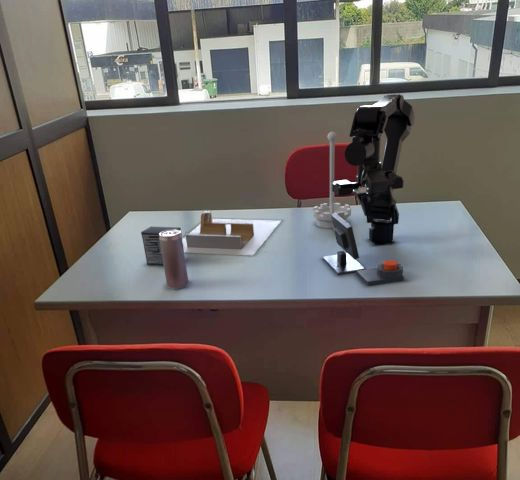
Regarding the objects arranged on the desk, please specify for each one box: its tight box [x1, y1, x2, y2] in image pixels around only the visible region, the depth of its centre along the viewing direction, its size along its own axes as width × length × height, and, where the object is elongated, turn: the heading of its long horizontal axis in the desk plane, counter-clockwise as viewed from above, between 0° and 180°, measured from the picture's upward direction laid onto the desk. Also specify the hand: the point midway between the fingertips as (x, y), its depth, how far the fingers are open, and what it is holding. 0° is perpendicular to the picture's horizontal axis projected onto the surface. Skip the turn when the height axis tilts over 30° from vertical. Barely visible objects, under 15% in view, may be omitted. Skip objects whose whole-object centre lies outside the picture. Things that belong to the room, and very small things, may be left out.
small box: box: [140, 226, 182, 267], centre depth 158 cm, size 11×6×10 cm, turn 71°
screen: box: [331, 213, 360, 260], centre depth 145 cm, size 3×13×10 cm, turn 13°
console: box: [355, 262, 405, 287], centre depth 139 cm, size 11×8×3 cm
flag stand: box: [312, 131, 352, 229], centre depth 175 cm, size 13×13×30 cm
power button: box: [383, 259, 399, 270], centre depth 138 cm, size 4×4×2 cm
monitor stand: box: [322, 250, 366, 276], centre depth 148 cm, size 8×13×4 cm, turn 12°
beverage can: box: [159, 229, 189, 290], centre depth 141 cm, size 6×6×15 cm
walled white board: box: [182, 208, 282, 256], centre depth 177 cm, size 29×35×8 cm
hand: (366, 215), depth 147 cm, fingers closed
